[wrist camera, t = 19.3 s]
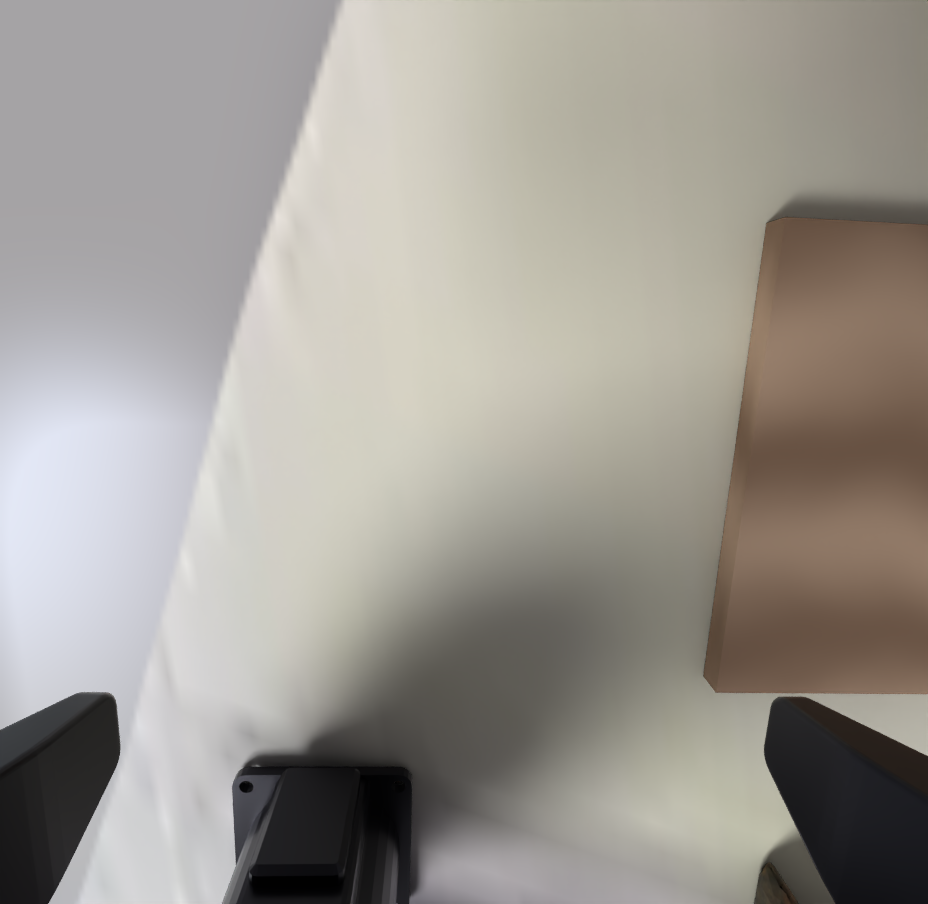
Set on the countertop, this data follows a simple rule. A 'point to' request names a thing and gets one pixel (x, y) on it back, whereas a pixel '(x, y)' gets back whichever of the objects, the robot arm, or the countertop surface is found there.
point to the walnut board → (830, 470)
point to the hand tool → (773, 888)
